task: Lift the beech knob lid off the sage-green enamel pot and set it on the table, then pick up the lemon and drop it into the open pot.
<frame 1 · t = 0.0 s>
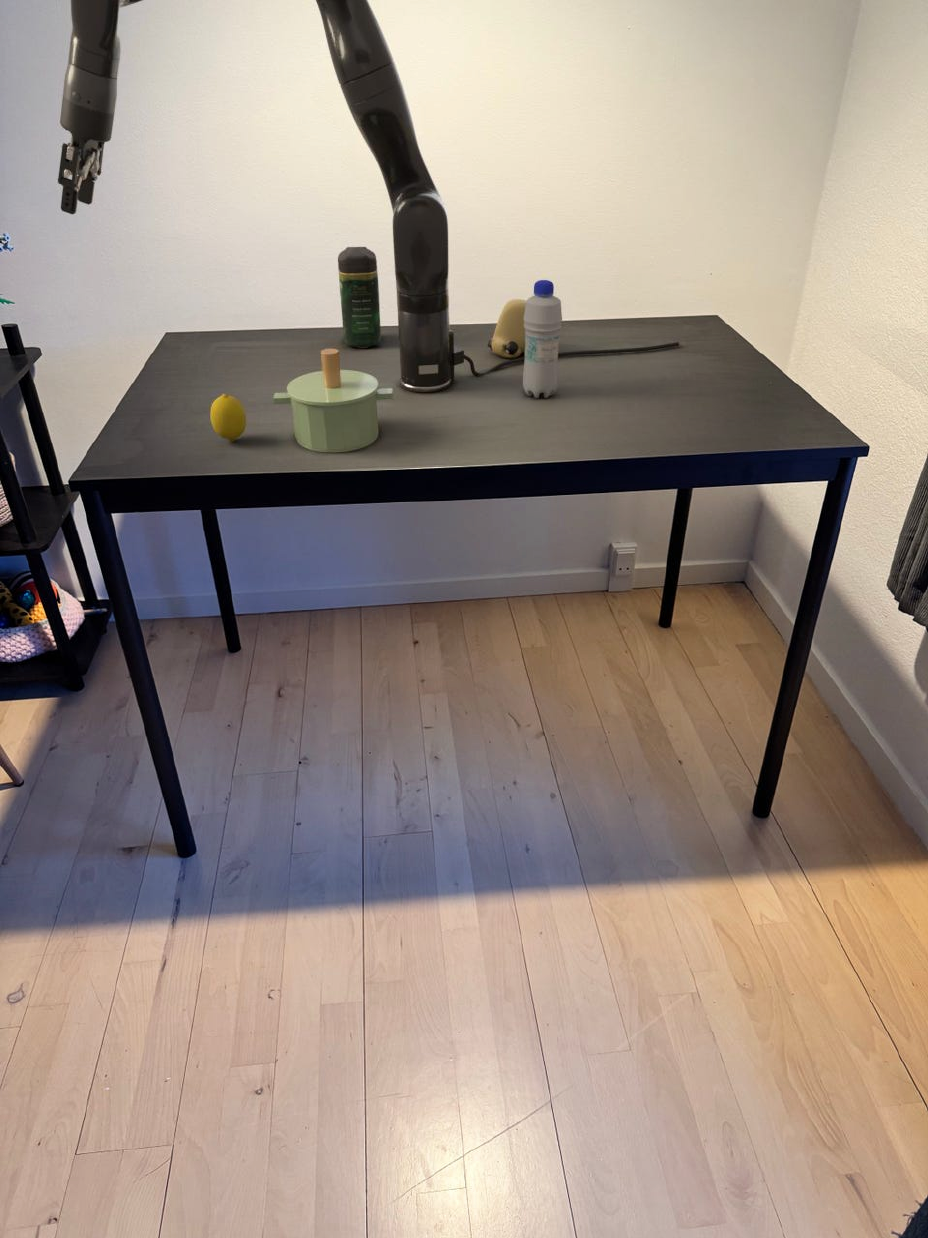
hand: (76, 207, 147), 31 cm above the table, tool tilted 20°, fingers open, 8 cm apart
lemon: (232, 442, 146), on the table
beige curved piece: (516, 353, 181), on the table
bottle: (539, 394, 162), on the table
pot: (337, 435, 147), on the table
lid: (333, 388, 143), point 8 cm above the table, touching pot
coffee jar: (363, 342, 187), on the table
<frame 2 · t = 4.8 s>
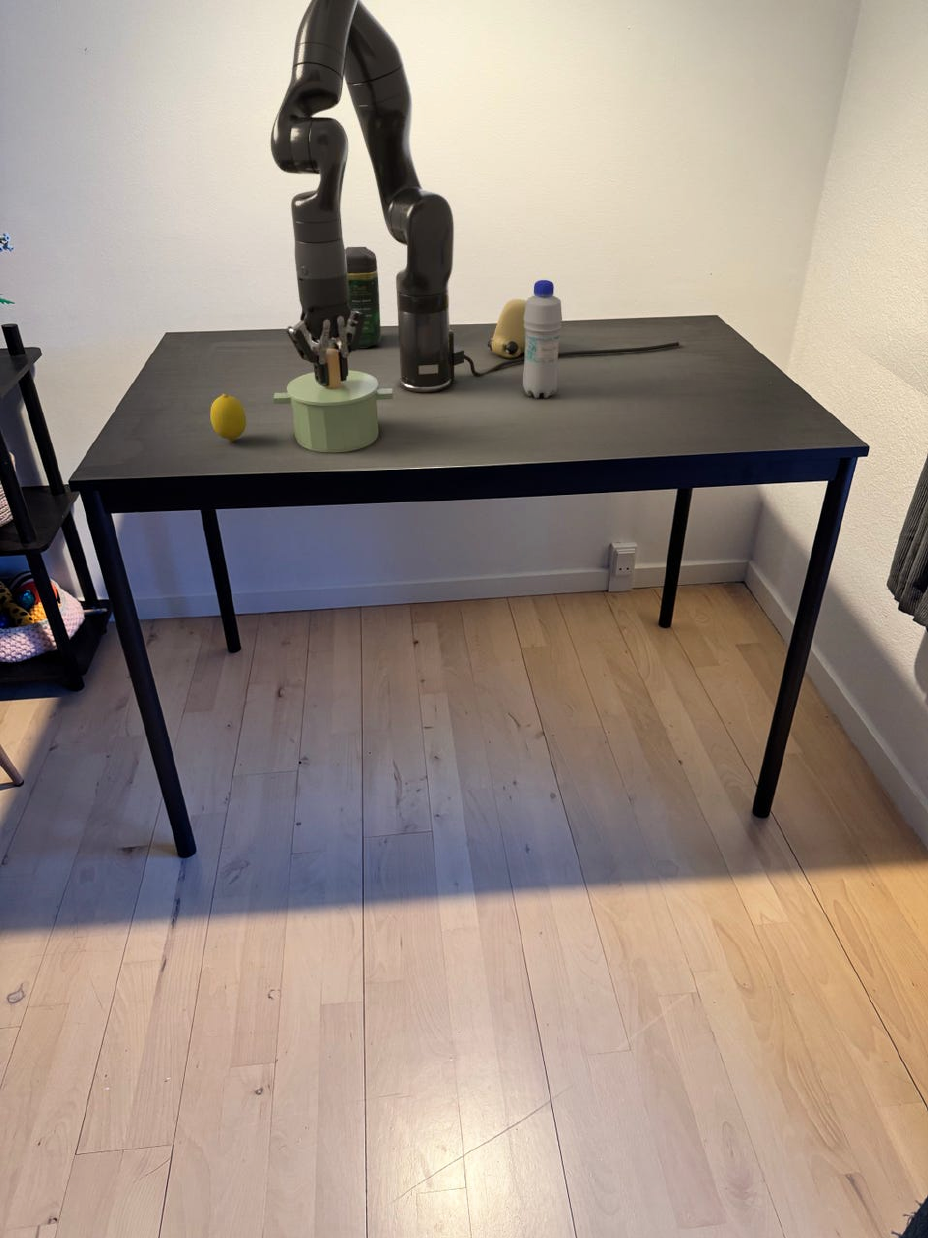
hand: (332, 382, 142), 9 cm above the table, tool pointing down, fingers closed on lid, 3 cm apart
lid: (333, 388, 143), point 8 cm above the table, touching gripper, pot
everything else where it was.
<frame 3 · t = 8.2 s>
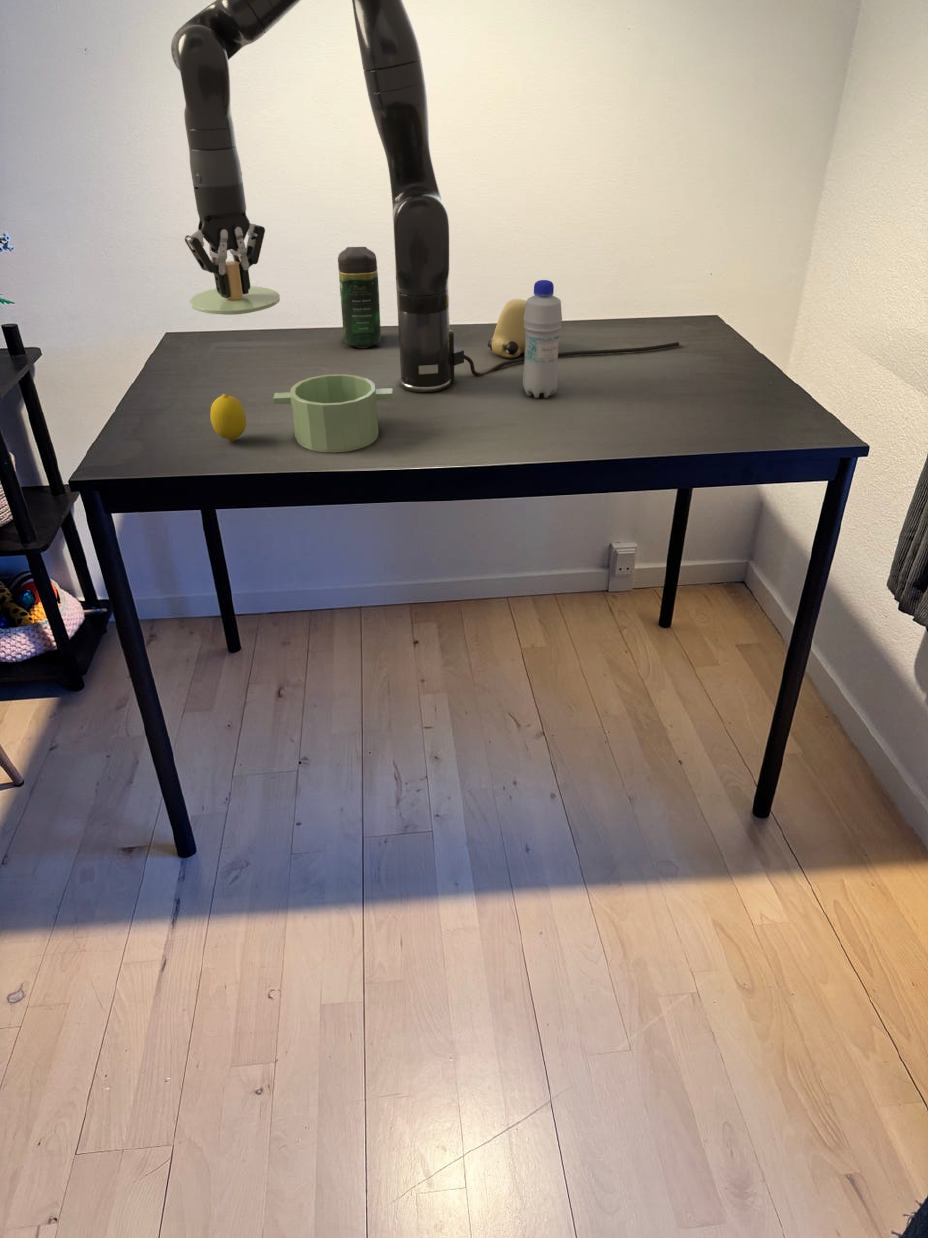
hand: (234, 294, 147), 19 cm above the table, tool pointing down, fingers closed on lid, 3 cm apart
lid: (235, 301, 147), point 18 cm above the table, touching gripper
everything else where it was.
when the fingers open (2 cm above the table, at t = 11.6 s): lid stays where it is, point 1 cm above the table.
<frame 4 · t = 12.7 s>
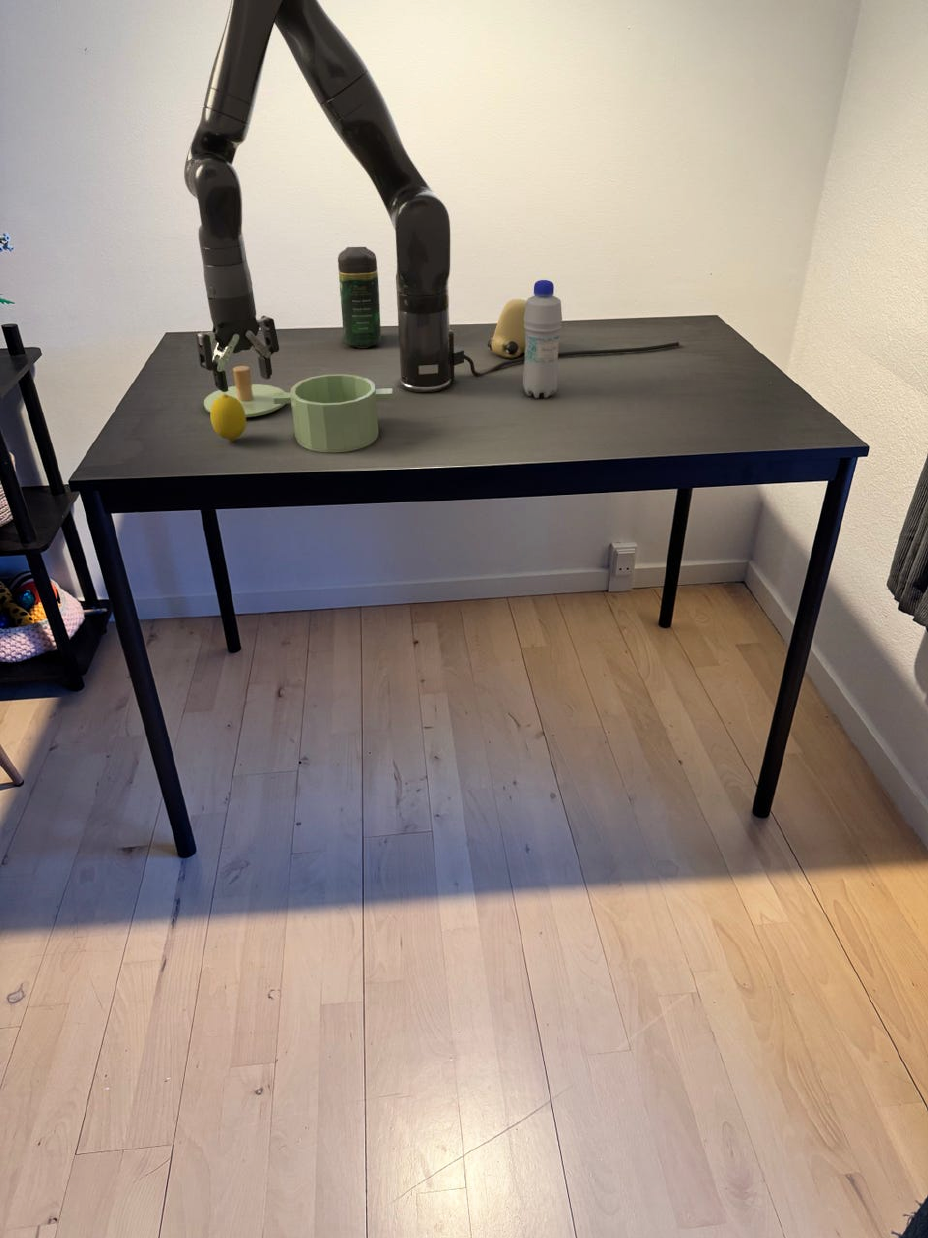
hand: (245, 384, 156), 4 cm above the table, tool pointing down, fingers open, 8 cm apart
lid: (246, 401, 158), point 1 cm above the table
everything else where it was.
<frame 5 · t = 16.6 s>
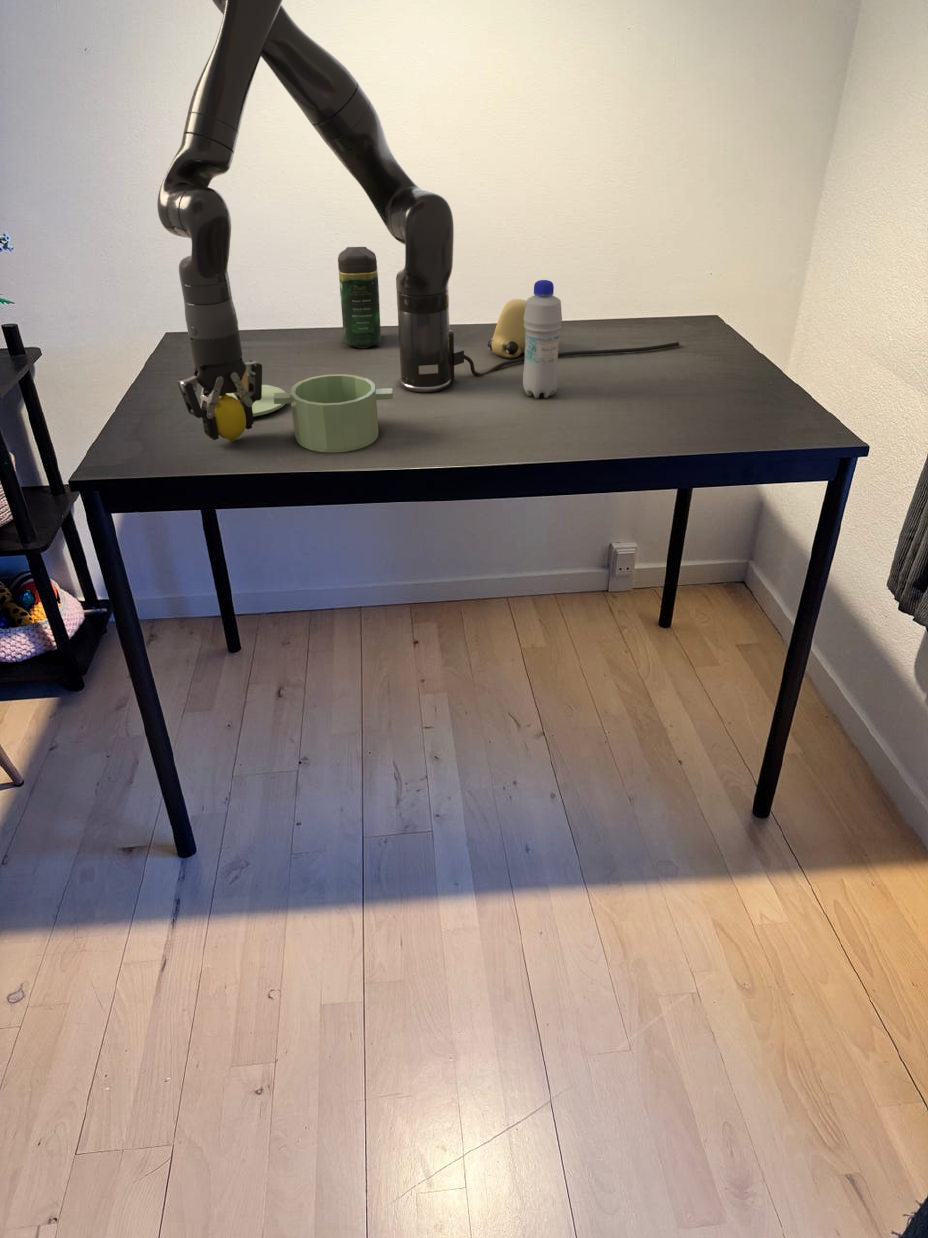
hand: (230, 432, 145), 2 cm above the table, tool pointing down, fingers closed on lemon, 5 cm apart
lemon: (232, 442, 146), on the table, touching gripper
everything else where it was.
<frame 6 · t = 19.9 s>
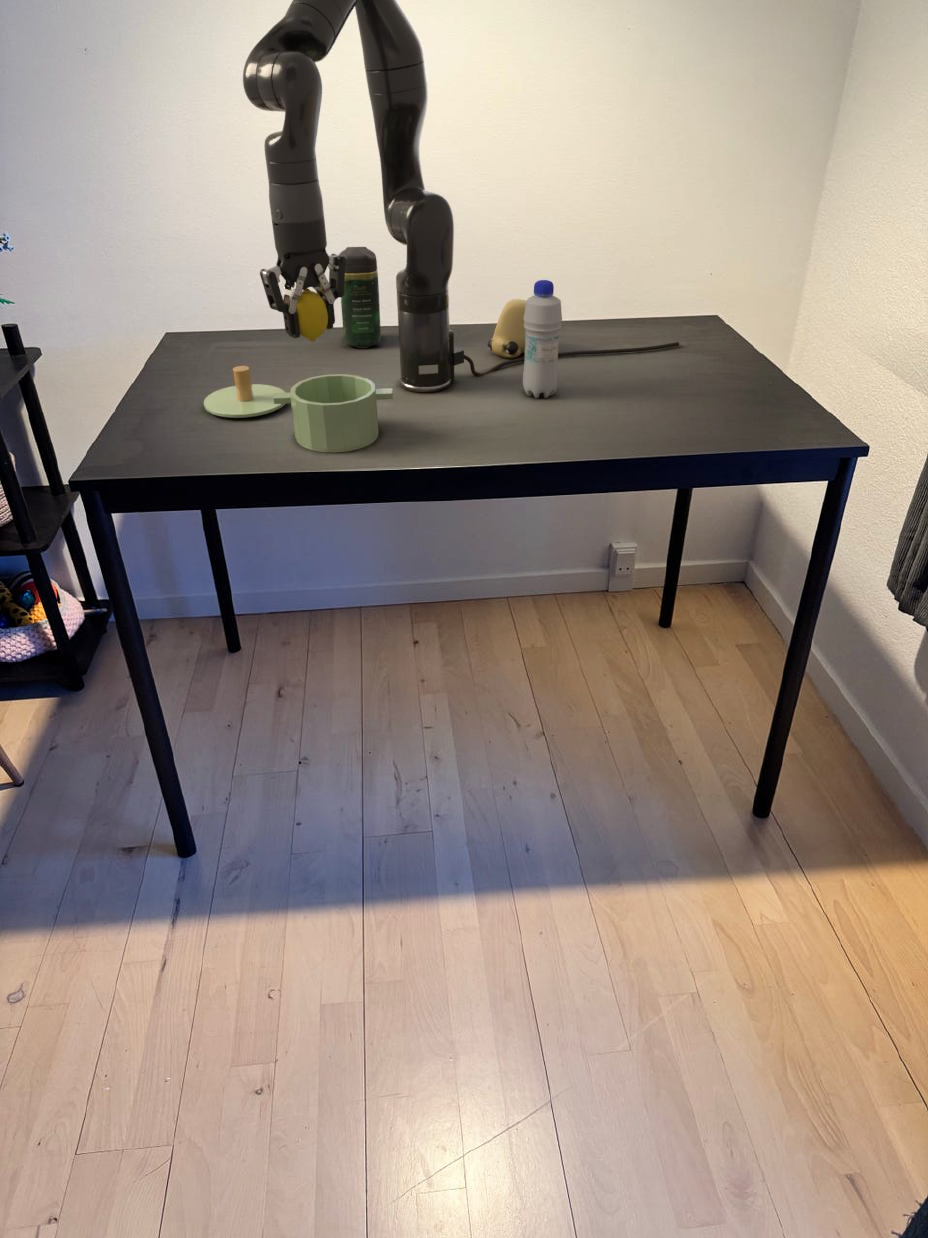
hand: (311, 331, 137), 17 cm above the table, tool pointing down, fingers closed on lemon, 5 cm apart
lemon: (312, 342, 138), point 15 cm above the table, touching gripper
everything else where it was.
when the fingers open (6 cm above the table, at t = 23.4 s): lemon drops 4 cm, resting on pot.
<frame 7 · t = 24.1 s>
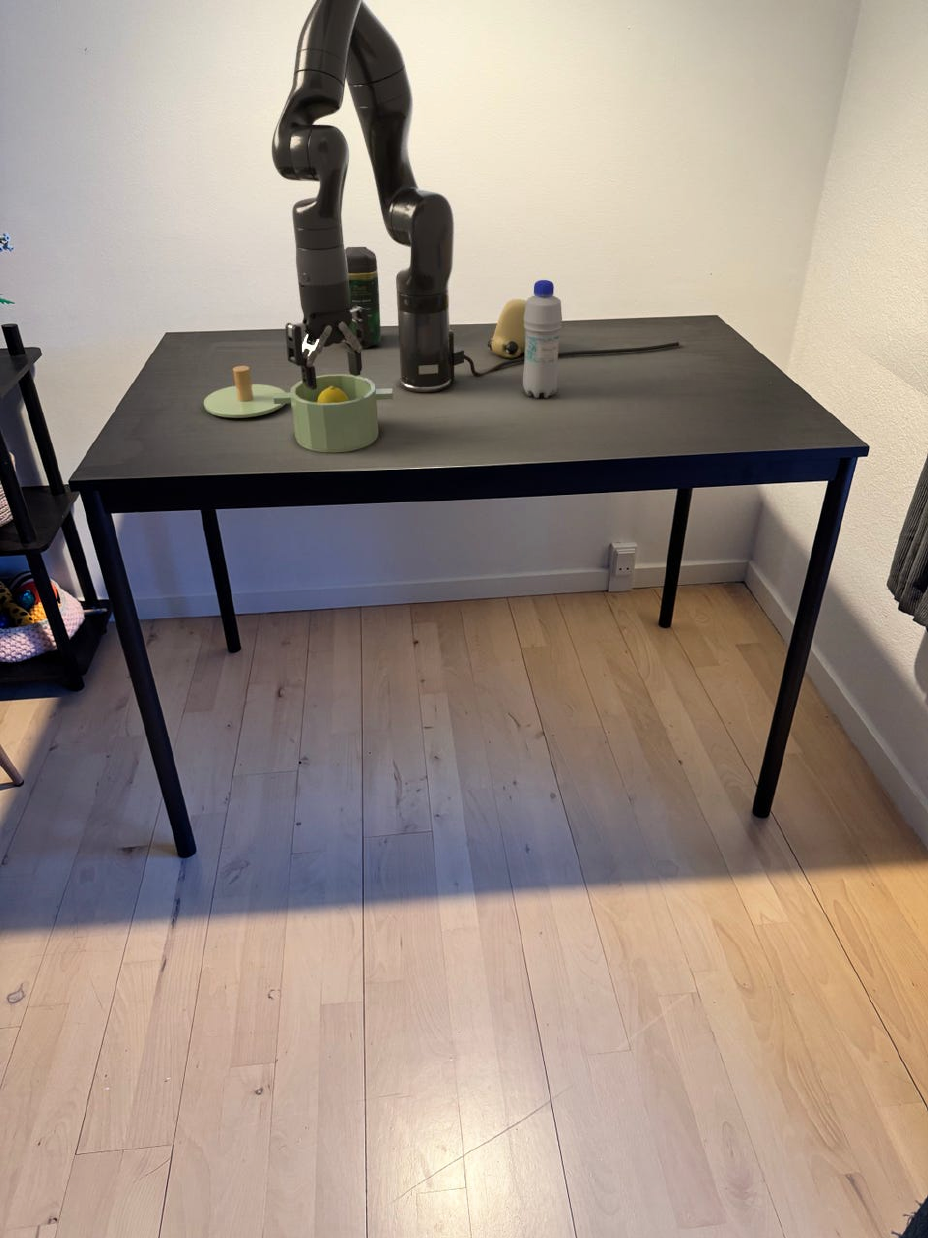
hand: (333, 381, 142), 9 cm above the table, tool pointing down, fingers open, 8 cm apart
lemon: (336, 433, 147), resting on pot
everything else where it was.
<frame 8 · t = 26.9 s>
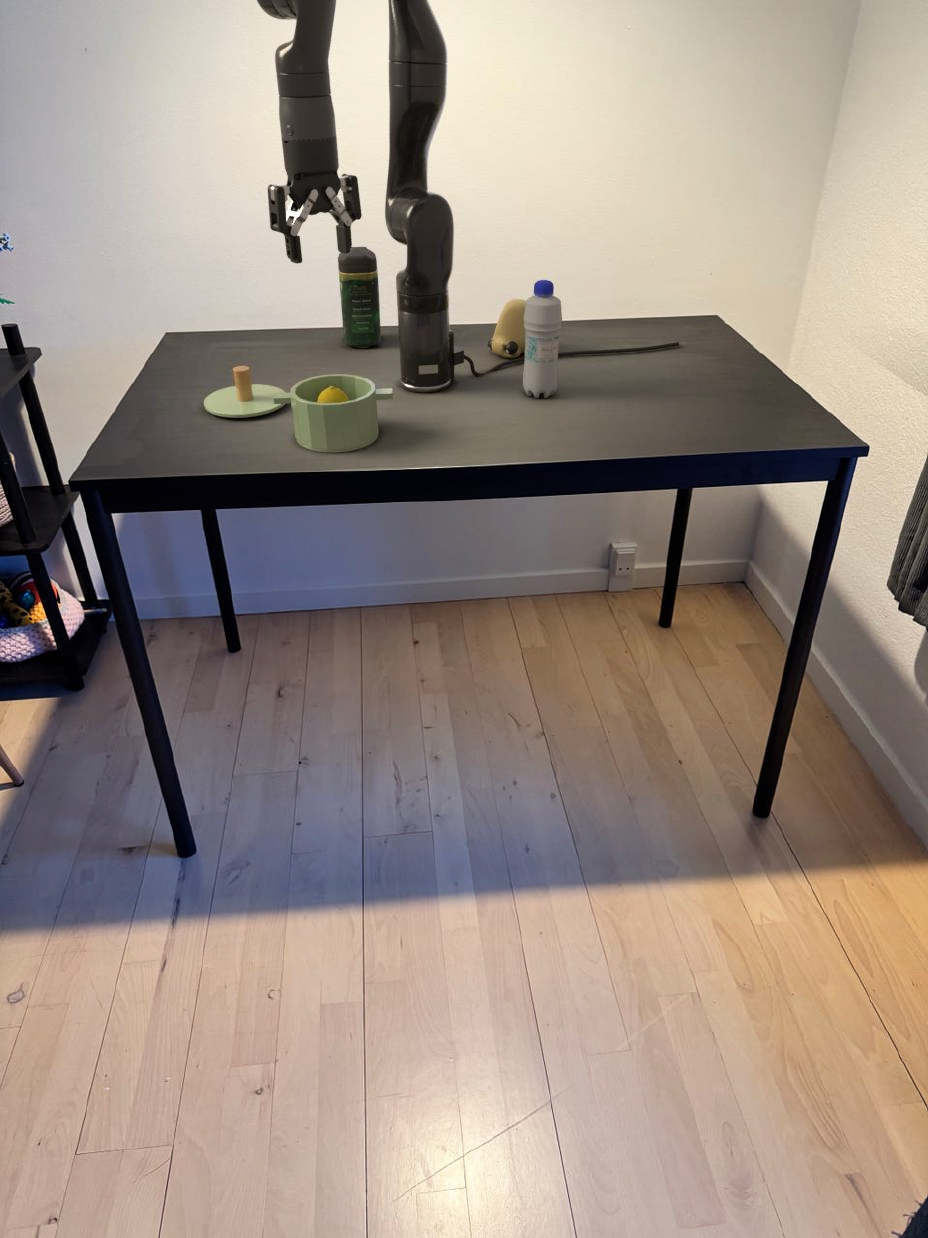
hand: (320, 257, 131), 28 cm above the table, tool pointing down, fingers open, 8 cm apart
nothing on the table moved.
at the end: lemon inside the target area in the pot (0.2 cm from its centre), point 0.3 cm above the pot's base; lid inside the target area (0.1 cm from its centre), point 0.6 cm above the table; lid tilted 0° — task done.
